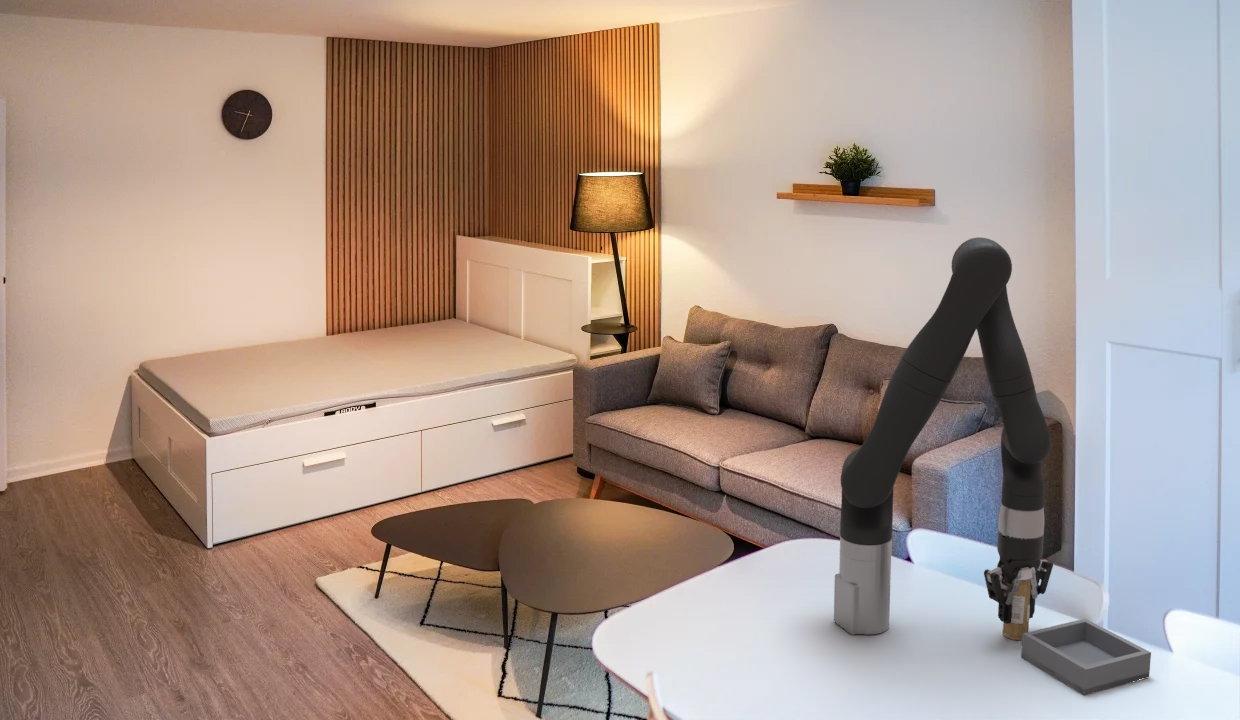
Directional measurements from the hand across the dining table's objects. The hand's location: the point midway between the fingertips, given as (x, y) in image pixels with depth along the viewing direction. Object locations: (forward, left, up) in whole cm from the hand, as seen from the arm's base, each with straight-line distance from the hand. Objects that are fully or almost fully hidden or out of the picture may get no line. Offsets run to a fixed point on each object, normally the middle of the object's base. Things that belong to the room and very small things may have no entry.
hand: (1015, 618), depth 189 cm
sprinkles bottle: (0, 0, -3) cm, 3 cm away
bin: (+2, -14, -3) cm, 14 cm away
